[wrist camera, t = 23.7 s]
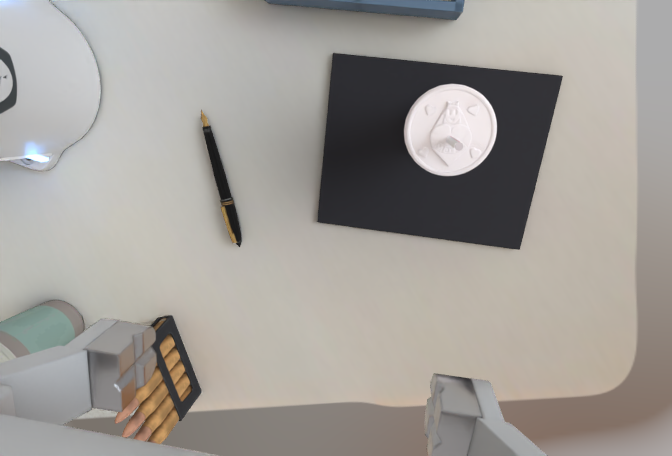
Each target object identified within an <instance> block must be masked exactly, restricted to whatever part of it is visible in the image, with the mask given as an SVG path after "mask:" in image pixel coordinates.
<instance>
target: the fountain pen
mask: <svg viewBox="0 0 672 456" xmlns="http://www.w3.org/2000/svg"><path fill="white" fill-rule="evenodd" d="M201 120H202V122H203V127H202V128H203V132H204V136H205V140H206V144H207V148H208V152H209V156H210V160H211V164H212V168H213V172H214V176H215V180H216V183H217V187H218V191H219V194H220V198H221V200H220V201H221V204H222V207H221V210H222V213H223V217H224V220H225V223H226V226H227V229H228V232H229V235H230V237H231V240H232V242H233V243H236V244H237V245H238V246H239V247H240V245H241V241H242V240H241V232H240V227H239V222H238V217H237V213H236V209H235V206H234V202H233V198H232V197H231V194H230V190H229V187H228V183H227V179H226V176H225V172H224V169H223V166H222V162H221V159H220V156H219V153H218V149H217V146H216V143H215V140H214V137H213V133H212V130H211V127H210V126H209V125H208V123H207V118H206V116H205V115H204V114H203V112H202V110H201Z"/></svg>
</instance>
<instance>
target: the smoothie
mask: <svg viewBox="0 0 672 456" xmlns="http://www.w3.org/2000/svg"><path fill="white" fill-rule="evenodd" d="M496 133H497V121H496V116H495V113H494V110H493V108H492V106H491V104H490V103H489V101H488V100H487V99H486V98H485V97H484V96H483V95H482V94H481V93H479V92H478V91H476V90H474V89H472V88H470V87H467V86H465V85H459V84H447V85H440V86H437V87H435V88H433V89H430V90H428V91H427V92H426V93H424V94H423V95H422V96H420V97H419V98H418V99H417V100H416V102H415V103H414V104H413V106H412V107H411V108H410V111H409V113H408V115H407V117H406V120H405V126H404V138H405V144H406V147H407V149H408V152H409V154H410V155H411V157H412V158H413V159H414V161H415V162H416V163H417V164H418V165H419V166H421V167H422V168H423V169H425V170H426V171H428V172H430V173H433V174H436V175H441V176H455V175H460V174H463V173H466V172H468V171H470V170H472V169H474V168H475V167H477V166H478V165H479V164H480V163H481V162H482V161H483V160H484V159H485V158H486V157H487V156H488V154H489V153H490V151H491V149H492V147H493V145H494V142H495V139H496Z"/></svg>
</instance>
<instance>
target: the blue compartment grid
mask: <svg viewBox="0 0 672 456" xmlns="http://www.w3.org/2000/svg"><path fill="white" fill-rule="evenodd" d="M265 1H266V2H268V3H272V4H283V5H294V6H305V7H316V8H328V9H339V10H350V11H361V12H372V13H384V14H395V15H406V16H417V17H428V18H440V19H451V20H456V19H457V18H458V17H459V16H460V14H461V13H462V12H463V6H464V0H451V1H440V0H265Z"/></svg>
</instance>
